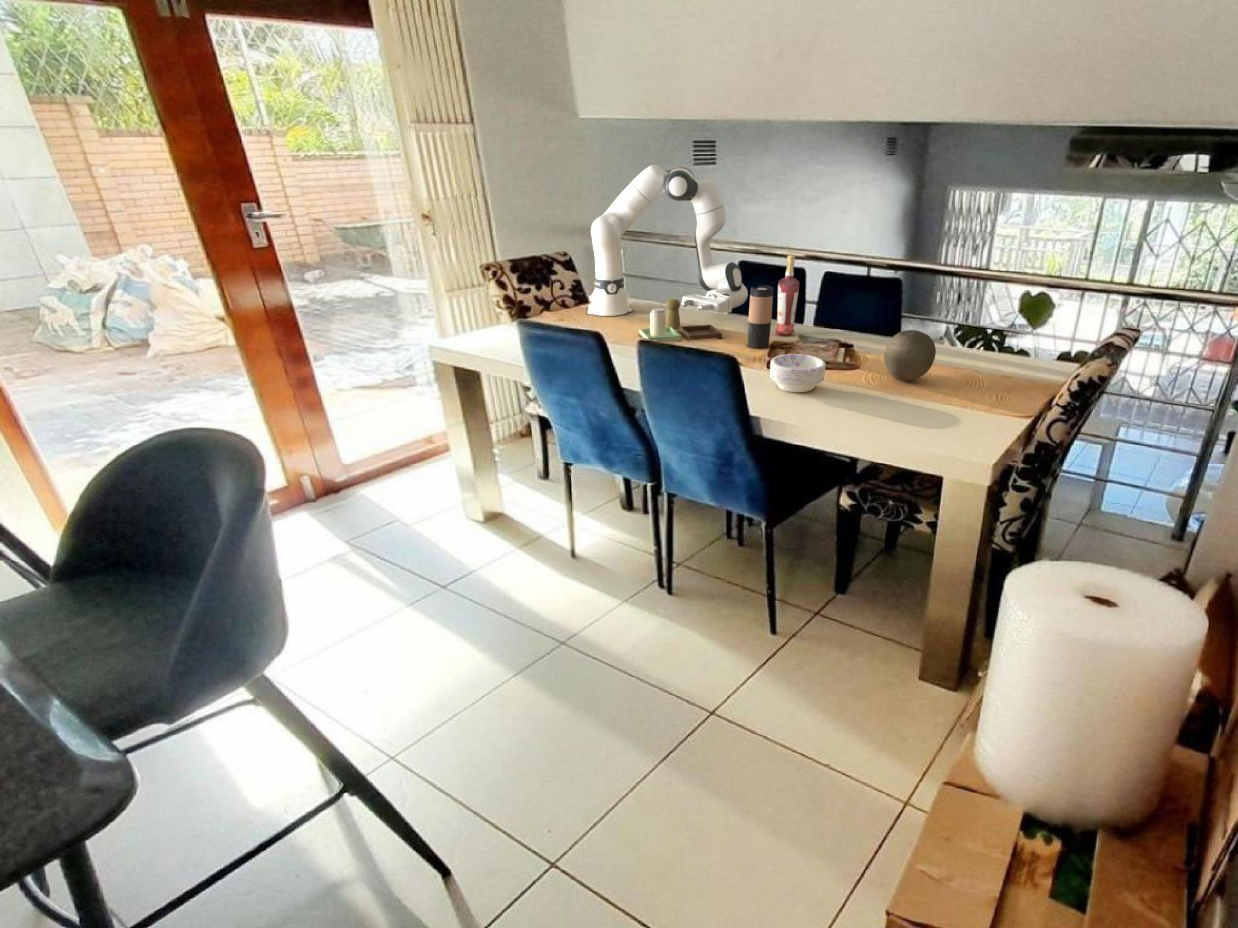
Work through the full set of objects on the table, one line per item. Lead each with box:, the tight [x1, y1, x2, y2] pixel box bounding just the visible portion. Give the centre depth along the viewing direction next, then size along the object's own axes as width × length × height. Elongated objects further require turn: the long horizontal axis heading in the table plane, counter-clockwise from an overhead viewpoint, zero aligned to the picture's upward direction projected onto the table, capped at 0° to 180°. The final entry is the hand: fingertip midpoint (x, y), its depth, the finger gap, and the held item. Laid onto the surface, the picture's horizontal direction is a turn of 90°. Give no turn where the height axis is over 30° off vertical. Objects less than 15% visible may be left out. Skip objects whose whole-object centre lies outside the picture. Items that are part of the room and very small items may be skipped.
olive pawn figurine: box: [665, 298, 681, 331], centre depth 265 cm, size 6×6×11 cm
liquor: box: [775, 254, 800, 337], centre depth 250 cm, size 7×7×28 cm
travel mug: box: [747, 285, 774, 350], centre depth 239 cm, size 8×8×20 cm
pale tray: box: [638, 327, 682, 342], centre depth 255 cm, size 13×12×2 cm
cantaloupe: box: [883, 329, 937, 382], centre depth 203 cm, size 14×14×15 cm
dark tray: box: [678, 324, 723, 341], centre depth 257 cm, size 13×12×2 cm
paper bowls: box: [769, 353, 827, 393], centre depth 201 cm, size 15×15×8 cm
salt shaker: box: [649, 307, 667, 337], centre depth 252 cm, size 6×6×10 cm
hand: (691, 306), depth 270 cm, fingers open, 8 cm apart
